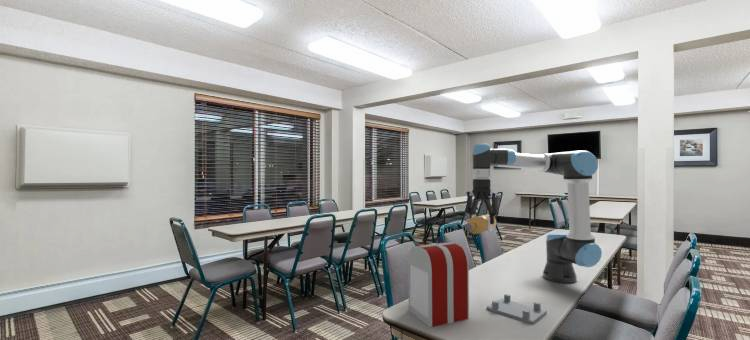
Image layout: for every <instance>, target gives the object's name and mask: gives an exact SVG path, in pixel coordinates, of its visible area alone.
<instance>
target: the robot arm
mask: <svg viewBox="0 0 750 340" xmlns="http://www.w3.org/2000/svg"><path fill="white" fill-rule="evenodd" d="M491 167H499V168H510V169H511V168H513V169H523V170H524V169H525V170H538V171H539V172H541V173H548V174H554V175H560V176H563V181H565V182H566V184H567V203H568V204H567V205H568V207H567V208H568V226H569V227H568V229H569V232H568V233H567V232H566V233H563V232H561V233H560V232H557V233H555V232H554V233H552V232H551V233H548V234H546V241H545V242H546V243H545V245H546V263H545V266H544V269H543V271H542V277H543V278H544V279H545V280H548V281H551V282H556V283H563V284H567V283H568V284H571V283H572V284H573V283H575V282H577V281H578V280H577V279H578V278H577V274H576V271H575V268H574V265H576V266H579V267H583V268H592V267H594V266H596V265H597V264H598V263H599V262H600V260H601V259H602V249H601V247H600V245H599V244H597V243H596V237H595V236H594V235H592V233H591V229H592V228H591V213H590V212H591V208H590V207H591V206H590V189H589V187H590V185H589V182H591V181H592V180H593V175H595V174H596V172H597V170H598V168H599V162H598V160H597V157H596V155H594V154H593V153H592V152H590V151H588V150H571V151H570V150H569V151H560V152H551V153H544V152H543V153H540V154H532V153H531V154H530V153H522V152H521V153H520V152H516V151H515V150H514V149H513V148H491V144H489V143H475V144H473V146H472V179H473V180H472V191H471V190H470V191H467V192H466V195H467V196H466V197H467V198H466V206H465V213H466V214H469V219H470V218H473V217H477V214H476V210H477V208H478V204H479V202H480V200H483V202H484V204H485V207H486V210H487V212H488V214H489V217H488V231H487V232H488V233H491V232H493V229H492V224H494V217H496V216H499V207H498V206H499V205H498V192H493V191H492V189H491V179H490V178H491ZM473 195H474V197H473ZM490 196H491V199H490ZM573 264H574V265H573Z"/></svg>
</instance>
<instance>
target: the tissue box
mask: <svg viewBox="0 0 750 340" xmlns="http://www.w3.org/2000/svg"><path fill="white" fill-rule="evenodd" d="M445 242H446V243H445ZM445 242H441V243H436V242H432V243H428V244H419V245H413V246H412V247H410V249H409V253H408V261H407V262H408V311H409V312H410V313H411V314H412V315H414V316H415V317H416V318H418V319H419V320H420V321H421V322H423V323H424V324H425V325H427V326H428V327H430V328H432V327H437V326H443V325H446V324H454V323H455V322H460V321H465V320H468V319H470V299H469V297H470V287H469V285H470V284H469V283H470V281H469V280H470V277H469V275H470V272H469V271H470V270H469V267H470V266H469V265H470V264H469V258H468V254H467V252H466V250H465V248H464V247H463V246H462V245H459V244H458V243H457V242H448V241H445Z"/></svg>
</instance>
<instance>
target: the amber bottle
mask: <svg viewBox="0 0 750 340" xmlns="http://www.w3.org/2000/svg"><path fill="white" fill-rule="evenodd" d="M488 217H489V213H488V214H484V215H479V216H476V217H473V218H470V217H469V219H468V220H467V221H466V224H465V225H464V229H465V231H467V232H470V234H473V235H478V234H480V233H484V232H488ZM496 226H497V219H496V216H494V224H492V230H494V229H495V228H496Z"/></svg>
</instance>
